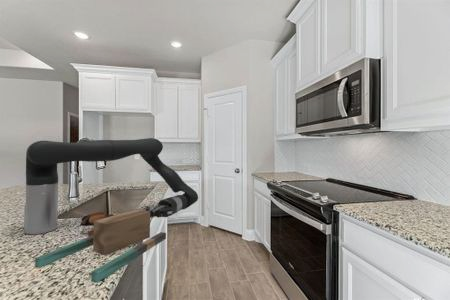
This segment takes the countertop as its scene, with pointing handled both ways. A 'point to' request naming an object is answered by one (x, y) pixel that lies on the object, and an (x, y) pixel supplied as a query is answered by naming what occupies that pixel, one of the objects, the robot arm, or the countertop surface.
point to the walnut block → (120, 231)
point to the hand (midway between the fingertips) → (144, 216)
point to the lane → (109, 266)
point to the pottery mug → (92, 220)
